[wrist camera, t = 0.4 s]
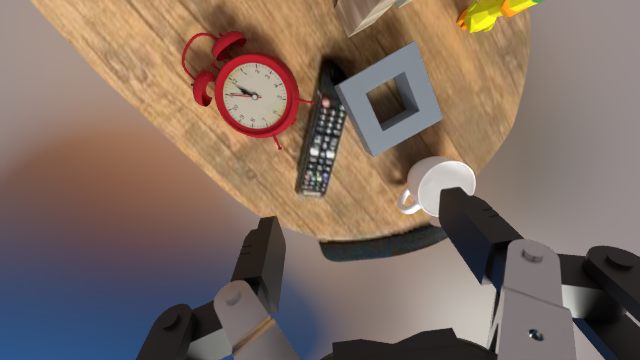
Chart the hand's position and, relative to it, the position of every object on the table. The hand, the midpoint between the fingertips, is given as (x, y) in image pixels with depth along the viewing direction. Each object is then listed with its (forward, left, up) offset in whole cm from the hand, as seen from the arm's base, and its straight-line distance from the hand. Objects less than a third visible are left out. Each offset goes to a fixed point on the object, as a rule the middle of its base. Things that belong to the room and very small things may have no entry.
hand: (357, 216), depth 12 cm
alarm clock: (-10, -5, -24) cm, 27 cm away
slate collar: (0, +10, -24) cm, 26 cm away
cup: (+13, +10, -24) cm, 29 cm away
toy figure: (-4, +24, -24) cm, 35 cm away
